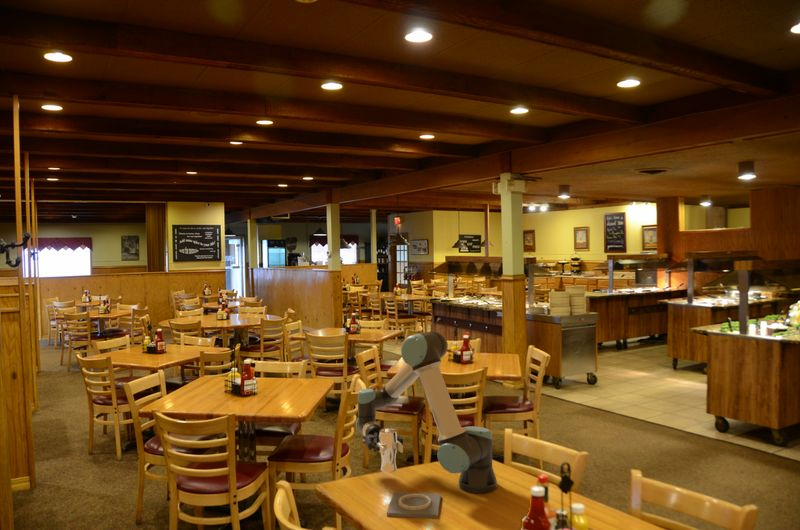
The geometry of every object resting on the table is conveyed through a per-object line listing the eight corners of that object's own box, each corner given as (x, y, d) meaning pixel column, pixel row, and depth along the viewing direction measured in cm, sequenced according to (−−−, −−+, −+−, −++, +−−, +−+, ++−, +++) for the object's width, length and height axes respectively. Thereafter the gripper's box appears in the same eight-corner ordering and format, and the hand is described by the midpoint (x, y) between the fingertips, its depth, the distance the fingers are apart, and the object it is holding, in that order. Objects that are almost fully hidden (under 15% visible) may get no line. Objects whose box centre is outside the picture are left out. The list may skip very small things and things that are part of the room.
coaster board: (440, 497, 223) (440, 491, 223) (437, 518, 205) (437, 512, 205) (393, 495, 225) (393, 489, 225) (386, 516, 207) (386, 509, 207)
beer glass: (395, 473, 220) (394, 434, 220) (377, 472, 222) (376, 433, 222) (399, 466, 227) (398, 428, 227) (381, 465, 229) (381, 427, 228)
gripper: (396, 439, 245) (417, 456, 223) (351, 445, 238) (367, 463, 216) (396, 421, 245) (416, 437, 223) (350, 426, 238) (367, 443, 216)
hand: (392, 450), depth 220 cm, fingers closed on beer glass, 7 cm apart
